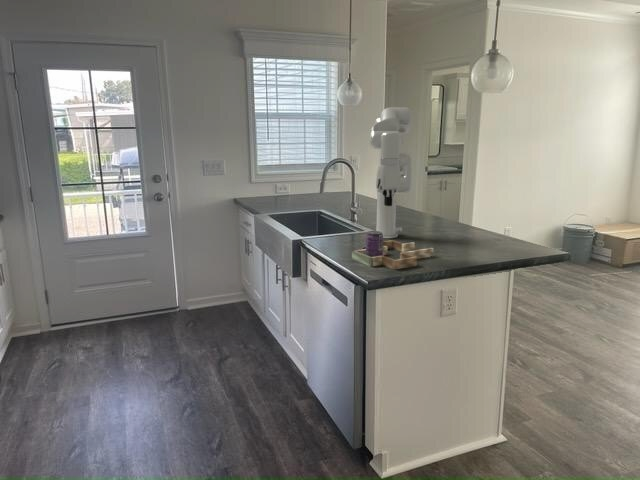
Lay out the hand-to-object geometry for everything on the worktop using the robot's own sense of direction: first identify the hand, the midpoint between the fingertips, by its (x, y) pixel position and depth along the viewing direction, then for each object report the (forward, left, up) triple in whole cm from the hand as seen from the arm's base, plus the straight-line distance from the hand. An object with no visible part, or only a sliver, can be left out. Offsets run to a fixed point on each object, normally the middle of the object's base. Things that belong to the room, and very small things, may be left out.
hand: (388, 205), depth 204 cm
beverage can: (+11, +6, -22) cm, 25 cm away
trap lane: (0, +6, -22) cm, 22 cm away
